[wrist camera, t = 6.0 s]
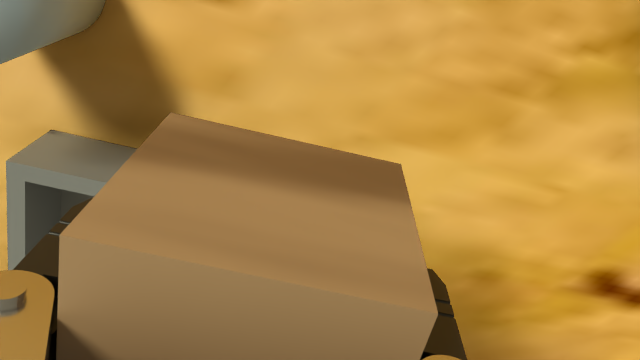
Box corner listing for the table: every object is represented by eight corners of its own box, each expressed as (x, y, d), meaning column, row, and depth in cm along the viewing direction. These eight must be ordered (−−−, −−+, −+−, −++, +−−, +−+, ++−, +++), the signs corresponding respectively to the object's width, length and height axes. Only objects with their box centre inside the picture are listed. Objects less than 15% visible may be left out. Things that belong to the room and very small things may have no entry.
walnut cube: (170, 112, 11) (59, 235, 7) (400, 164, 12) (438, 314, 7) (148, 300, 14) (52, 489, 9) (344, 340, 14) (346, 541, 9)
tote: (51, 129, 27) (6, 160, 24) (318, 189, 28) (314, 228, 24) (46, 386, 34) (11, 440, 31) (258, 428, 35) (248, 485, 32)
